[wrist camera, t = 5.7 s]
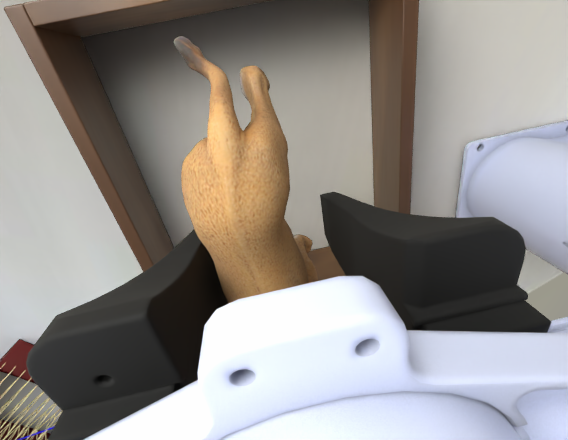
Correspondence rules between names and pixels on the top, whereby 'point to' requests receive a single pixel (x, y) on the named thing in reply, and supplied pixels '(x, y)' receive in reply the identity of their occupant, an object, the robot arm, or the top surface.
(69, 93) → the wooden frame
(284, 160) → the lion figurine
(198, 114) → the top surface
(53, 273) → the top surface
